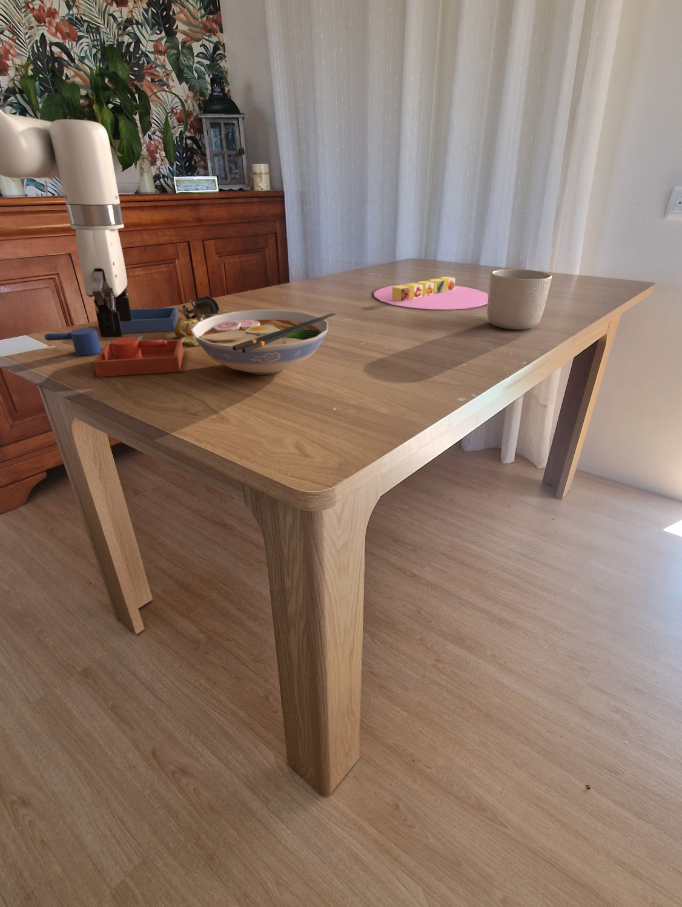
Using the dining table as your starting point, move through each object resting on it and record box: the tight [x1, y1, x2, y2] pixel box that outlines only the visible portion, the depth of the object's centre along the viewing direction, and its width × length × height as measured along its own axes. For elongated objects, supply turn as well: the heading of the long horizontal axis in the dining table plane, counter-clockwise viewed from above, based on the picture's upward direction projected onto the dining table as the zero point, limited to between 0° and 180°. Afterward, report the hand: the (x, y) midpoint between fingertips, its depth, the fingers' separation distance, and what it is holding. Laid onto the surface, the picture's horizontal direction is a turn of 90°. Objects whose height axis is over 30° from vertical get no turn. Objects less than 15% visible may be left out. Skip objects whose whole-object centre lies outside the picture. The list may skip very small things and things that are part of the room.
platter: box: [373, 276, 489, 311], centre depth 136 cm, size 32×32×3 cm
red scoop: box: [110, 336, 167, 360], centre depth 87 cm, size 9×4×4 cm, turn 101°
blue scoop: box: [44, 327, 102, 357], centre depth 92 cm, size 9×4×4 cm, turn 101°
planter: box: [486, 268, 553, 331], centre depth 108 cm, size 12×12×11 cm
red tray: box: [93, 339, 185, 378], centre depth 87 cm, size 13×10×3 cm
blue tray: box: [120, 306, 179, 334], centre depth 109 cm, size 13×10×3 cm
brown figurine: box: [177, 295, 221, 322], centre depth 109 cm, size 8×7×9 cm
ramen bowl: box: [191, 309, 336, 376], centre depth 84 cm, size 25×23×8 cm
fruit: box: [173, 318, 200, 347], centre depth 100 cm, size 8×8×4 cm
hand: (117, 328), depth 84 cm, fingers open, 9 cm apart
